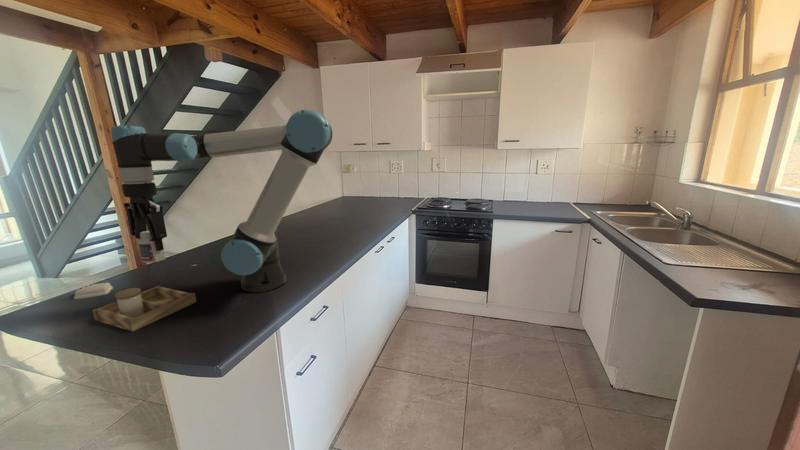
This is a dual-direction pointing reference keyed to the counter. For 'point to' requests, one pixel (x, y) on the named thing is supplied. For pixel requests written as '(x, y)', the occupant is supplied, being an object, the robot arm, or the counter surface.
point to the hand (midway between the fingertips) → (153, 259)
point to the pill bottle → (146, 247)
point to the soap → (93, 290)
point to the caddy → (146, 308)
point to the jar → (130, 302)
